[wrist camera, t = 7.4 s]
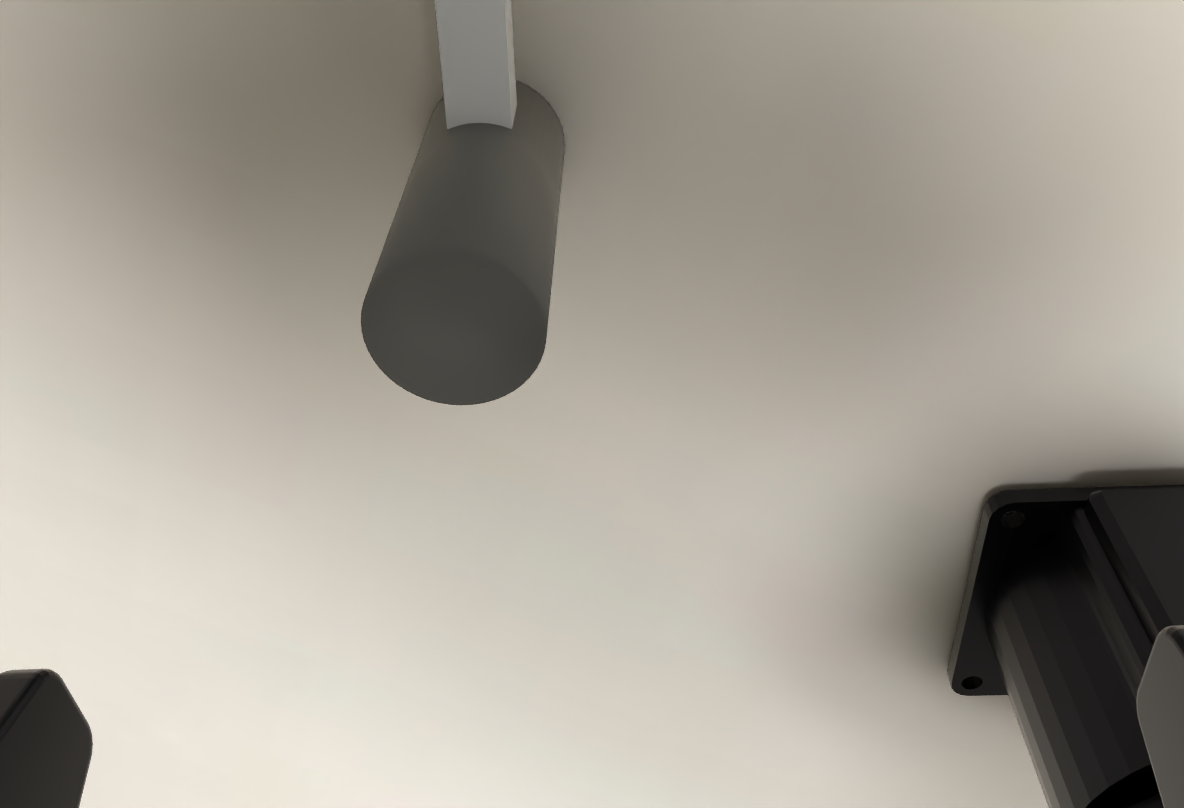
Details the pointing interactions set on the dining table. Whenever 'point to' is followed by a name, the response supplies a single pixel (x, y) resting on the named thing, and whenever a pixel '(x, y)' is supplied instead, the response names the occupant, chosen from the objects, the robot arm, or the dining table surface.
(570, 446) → the dining table surface
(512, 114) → the block
